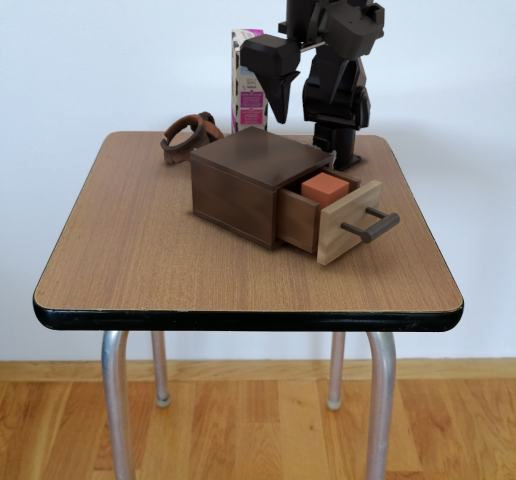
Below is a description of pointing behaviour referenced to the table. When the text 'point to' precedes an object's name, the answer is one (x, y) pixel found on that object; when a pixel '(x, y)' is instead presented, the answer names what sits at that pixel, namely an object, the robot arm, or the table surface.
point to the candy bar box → (246, 88)
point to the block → (324, 191)
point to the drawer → (331, 217)
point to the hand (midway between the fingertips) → (304, 113)
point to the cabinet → (249, 180)
